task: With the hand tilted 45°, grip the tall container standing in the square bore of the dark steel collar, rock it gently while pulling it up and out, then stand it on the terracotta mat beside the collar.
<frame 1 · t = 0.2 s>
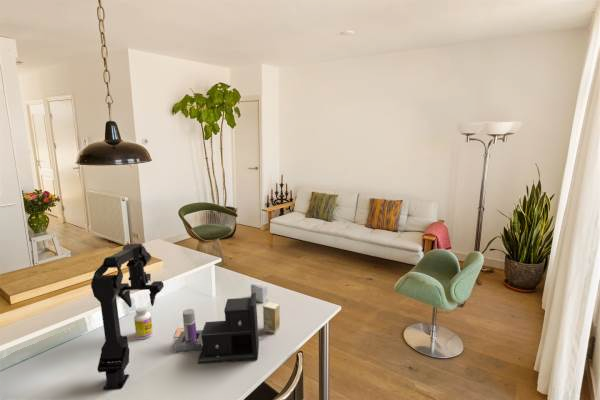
hand: (141, 306, 146), 15 cm above the table, tool pointing down, fingers open, 9 cm apart
skincare box: (272, 330, 152), on the table
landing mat: (184, 332, 152), on the table
medicine box: (259, 300, 180), on the table
supplement bottle: (144, 335, 150), on the table
steel collar: (191, 344, 143), on the table
black drawer cabinet: (229, 354, 137), on the table
container: (191, 344, 143), resting in steel collar
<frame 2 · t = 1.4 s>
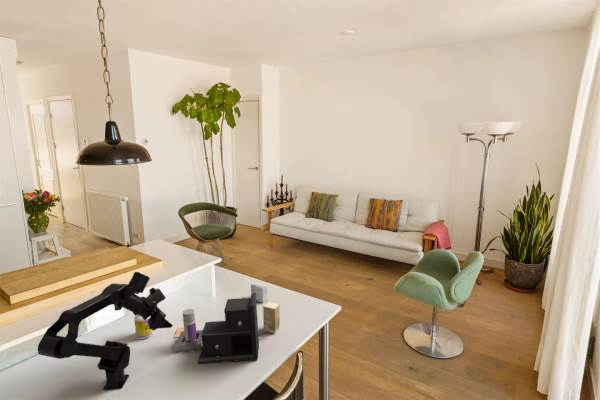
hand: (168, 321, 136), 13 cm above the table, tool tilted 45°, fingers open, 9 cm apart
nothing on the table moved.
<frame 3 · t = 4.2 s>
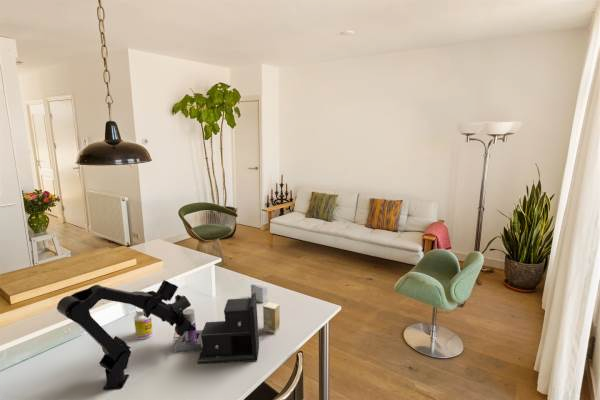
hand: (193, 326, 143), 8 cm above the table, tool tilted 45°, fingers closed on container, 5 cm apart
container: (191, 344, 143), resting in steel collar, touching gripper
everything else where it was.
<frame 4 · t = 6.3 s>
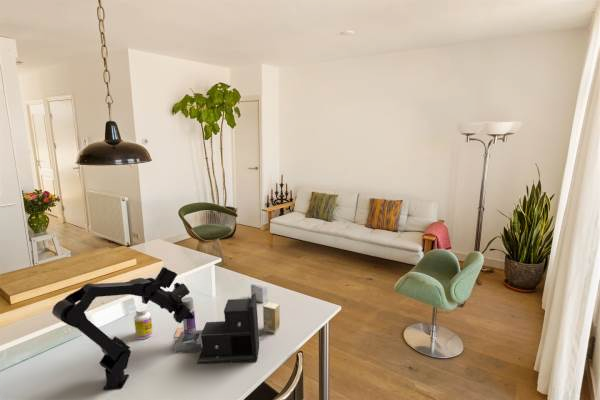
hand: (192, 314, 141), 13 cm above the table, tool tilted 45°, fingers closed on container, 5 cm apart
container: (190, 333, 142), point 5 cm above the table, touching gripper
everything else where it was.
when the fingers open (9 cm above the table, at t = 8.7 s): container stays where it is, resting on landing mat.
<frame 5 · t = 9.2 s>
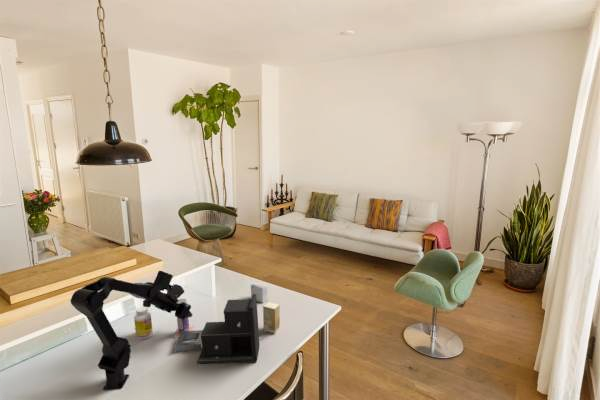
hand: (185, 312, 151), 9 cm above the table, tool tilted 45°, fingers open, 9 cm apart
container: (184, 332, 151), resting on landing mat
everything else where it was.
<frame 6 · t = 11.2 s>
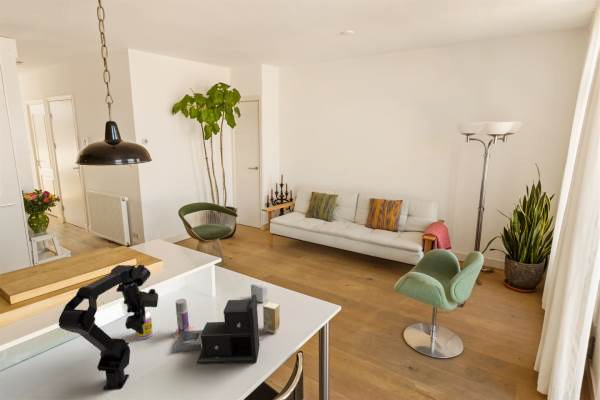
hand: (143, 325, 136), 12 cm above the table, tool pointing down, fingers open, 9 cm apart
nothing on the table moved.
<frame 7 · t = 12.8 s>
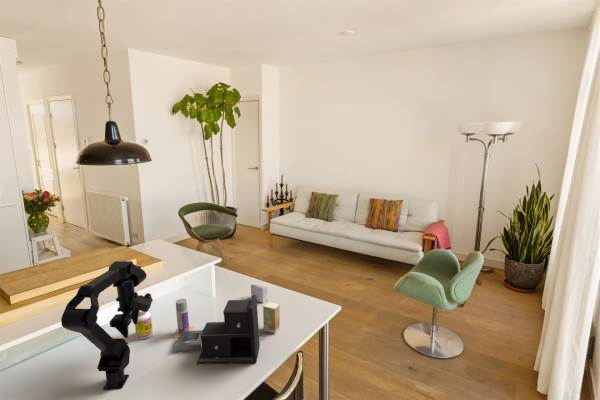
hand: (131, 330, 131), 13 cm above the table, tool pointing down, fingers open, 9 cm apart
at the end: container 0.2 cm from the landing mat (horizontally); container tilted 0°; the gripper is holding nothing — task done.
